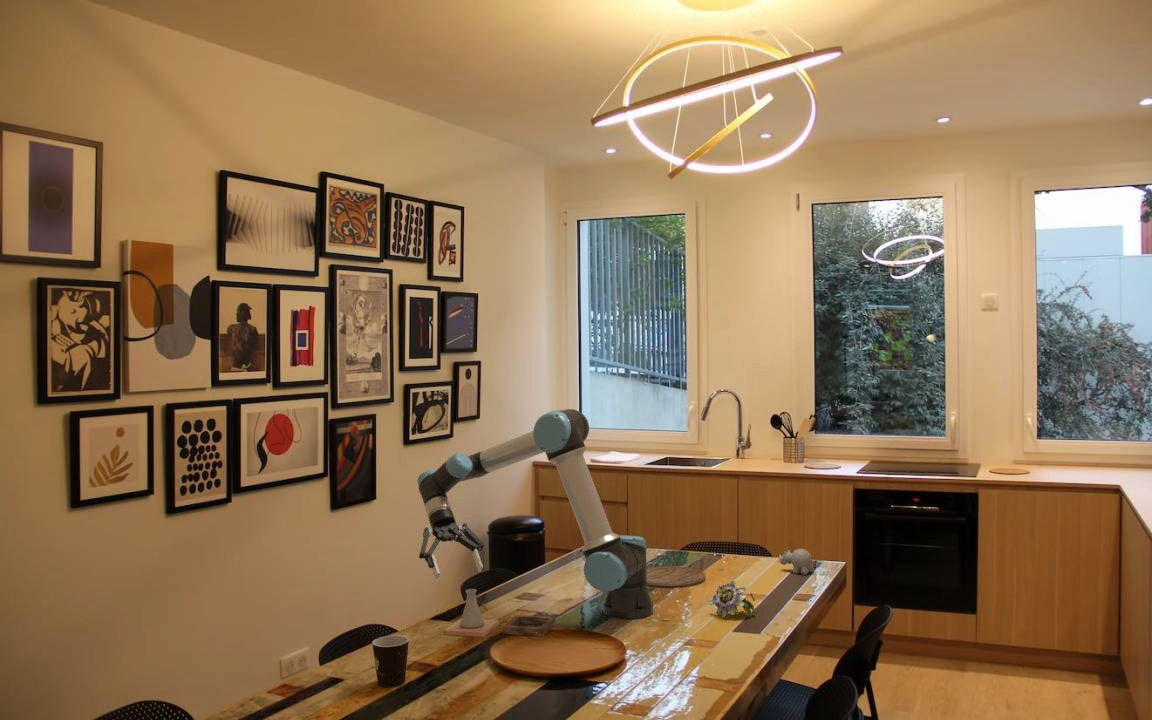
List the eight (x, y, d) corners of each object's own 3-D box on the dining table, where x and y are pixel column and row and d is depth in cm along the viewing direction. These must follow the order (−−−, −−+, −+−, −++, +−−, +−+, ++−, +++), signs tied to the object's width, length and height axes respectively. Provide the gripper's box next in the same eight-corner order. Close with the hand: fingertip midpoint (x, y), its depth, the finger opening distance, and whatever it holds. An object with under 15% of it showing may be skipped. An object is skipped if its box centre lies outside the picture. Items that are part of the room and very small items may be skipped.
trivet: (717, 576, 310) (716, 570, 310) (686, 592, 289) (686, 586, 289) (653, 568, 324) (653, 563, 324) (620, 583, 303) (620, 578, 303)
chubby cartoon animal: (785, 567, 319) (784, 544, 319) (815, 572, 311) (815, 548, 311) (775, 571, 313) (774, 547, 314) (806, 576, 305) (805, 552, 306)
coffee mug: (375, 677, 215) (374, 636, 215) (411, 675, 216) (410, 634, 216) (368, 695, 204) (367, 651, 204) (406, 693, 205) (405, 649, 205)
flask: (479, 629, 249) (479, 594, 249) (455, 628, 250) (454, 593, 250) (487, 621, 256) (487, 587, 256) (464, 620, 257) (463, 586, 257)
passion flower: (725, 635, 259) (700, 601, 261) (738, 619, 268) (714, 586, 270) (753, 619, 253) (727, 584, 255) (766, 603, 262) (741, 569, 264)
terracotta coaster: (499, 624, 257) (499, 620, 257) (483, 637, 245) (483, 632, 245) (461, 622, 260) (461, 618, 260) (444, 634, 249) (444, 630, 249)
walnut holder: (555, 623, 256) (555, 617, 256) (542, 636, 245) (542, 629, 245) (516, 621, 260) (516, 614, 260) (502, 633, 248) (502, 626, 248)
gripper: (474, 517, 281) (494, 574, 268) (398, 526, 269) (416, 586, 256) (480, 503, 277) (501, 559, 263) (403, 511, 264) (421, 571, 251)
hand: (459, 572), depth 260 cm, fingers open, 13 cm apart
